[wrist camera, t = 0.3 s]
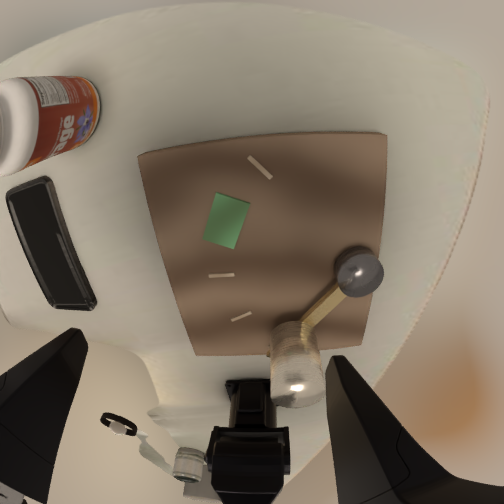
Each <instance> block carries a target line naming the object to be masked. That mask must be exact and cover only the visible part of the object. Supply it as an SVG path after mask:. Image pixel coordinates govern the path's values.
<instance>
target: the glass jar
mask: <svg viewBox="0 0 504 504" xmlns="http://www.w3.org/2000/svg"><path fill="white" fill-rule="evenodd" d="M203 463H204V457H203V453H202V452H201V451H198V450H195V449H191V448H179V449H178V452H177V454H176V458H175V464H174V469H173V476H174V477H175V478H176V479H177V480H180V481H184V482H189V483H196V482H200V481H201V478H202V470H203Z"/></svg>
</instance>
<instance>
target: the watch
mask: <svg viewBox="0 0 504 504" xmlns="http://www.w3.org/2000/svg"><path fill="white" fill-rule="evenodd" d="M106 418H108V419H112V420H114V421H115V422H110V421H108V420H107V419H106ZM100 421H101V423H103V424H104V425H105V426H107V427H109V428H110V429H111V431H112V432H113V433H115V435H122V434H126V435H130V436H135V435H136V433H137V426H136V425H135V424H134V423H132V422H131V421H129V420H128V419H126V418H123V417H122V416H118V415H115V414H112V413H103V415H102V417H101V419H100ZM124 425H126V426H128V427H130V428H131V429H132V430H130V429H127V428H125V426H124Z"/></svg>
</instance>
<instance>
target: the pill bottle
mask: <svg viewBox="0 0 504 504" xmlns="http://www.w3.org/2000/svg"><path fill="white" fill-rule="evenodd" d="M99 112H100V101H99V96H98V93H97V91H96V89H95V87H94V86H93V85H92V83H91V82H89V81H88V80H86V79H85V78H82V77H75V76H41V77H20V78H11V79H6V80H4V81H1V82H0V176H8V175H12V174H14V173H16V172H19V171H21V170H23V169H25V168H27V167H29V166H32V165H34V164H36V163H38V162H41V161H43V160H45V159H48V158H50V157H53V156H55V155H58V154H61V153H63V152H66V151H69V150H72V149H74V148H76V147H78V146H80V145H82V144H83V143H84V142H85V141H86V140H87V139H88V138H89V137H90V136H91V134H92V133H93V131H94V129H95V127H96V124H97V121H98V118H99Z"/></svg>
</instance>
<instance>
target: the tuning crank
mask: <svg viewBox="0 0 504 504" xmlns="http://www.w3.org/2000/svg"><path fill="white" fill-rule="evenodd" d="M334 274H335V277H336V279H337V283H336V284H335V285H334V286H333V287H332V288H331V289H330V290H329V291H328V292H327V293H326V294H325V295H324V296H323V297H322V298H321V299H320V300H319V301H318V302H317V303H316V304H315V305H313V306H312V307H311V308H310V309H309V310H308V311H307V312H306V313H305V314H304V315H303V316H302V317H301V318H300V319H299V320H298V321H290V322H286V323H283V324H281V325H279V326H277V327H276V328H275V329H274V330H273V331H272V333H271V335H270V350H268V351H267V357H270V373H271V400H272V401H273V402H274V403H275V404H276V405H279V406H282V407H286V408H301V407H306V406H310V405H313V404H315V403H317V402H319V401H320V400H321V399H322V398H323V397H324V396H325V394H326V390H325V383H324V377H323V371H322V365H321V359H320V353H319V347H318V341H317V336H316V331H315V329H314V328H313V327H314V326H315V325H316V324H317V323H318V322H319V321H321V320H322V319H323V318H324V317H325V316H326V315H327V314H328V313H329V312H330V311H331V310H333V309H334V308H335V307H336V306H337V305H338V304H339V303H340V302H341V301H342V300H343V299H344V298H345V297H346V296H349V297H354V298H358V297H364V296H366V295H369V294H370V293H372V292H373V291H375V290H376V289H377V288H378V287H379V285H380V284H381V282H382V280H383V276H384V269H383V267H382V265H381V263H380V261H379V260H378V258H377V257H376V255H375V253H374V252H373V251H372V250H371V249H369V248H367V247H363V246H357V247H352V248H350V249H347V250H346V251H344V252H343V253H342V254H341V255H340V256H339V257H338V259H337V260H336V262H335V265H334Z"/></svg>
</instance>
